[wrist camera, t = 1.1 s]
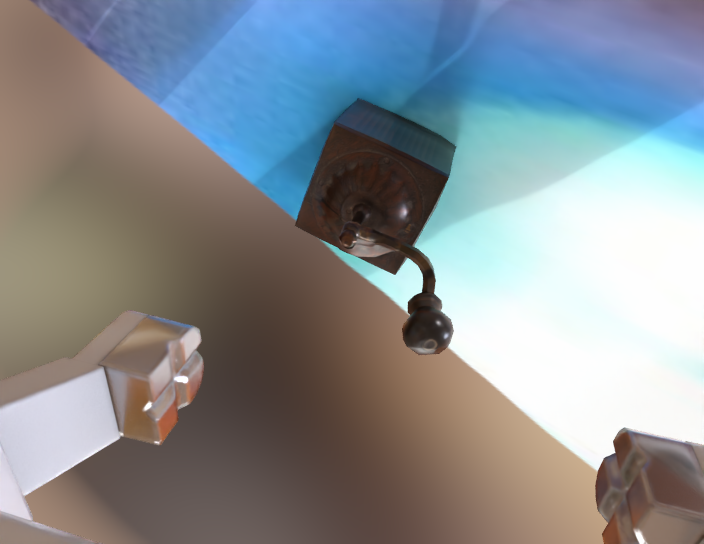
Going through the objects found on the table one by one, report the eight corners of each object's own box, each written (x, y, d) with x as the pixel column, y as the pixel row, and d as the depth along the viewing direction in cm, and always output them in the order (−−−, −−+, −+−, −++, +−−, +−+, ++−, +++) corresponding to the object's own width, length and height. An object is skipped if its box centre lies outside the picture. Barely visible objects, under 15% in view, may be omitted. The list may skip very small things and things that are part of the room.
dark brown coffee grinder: (318, 194, 53) (248, 284, 38) (357, 94, 47) (291, 153, 32) (453, 259, 53) (436, 374, 38) (509, 167, 47) (516, 260, 32)
